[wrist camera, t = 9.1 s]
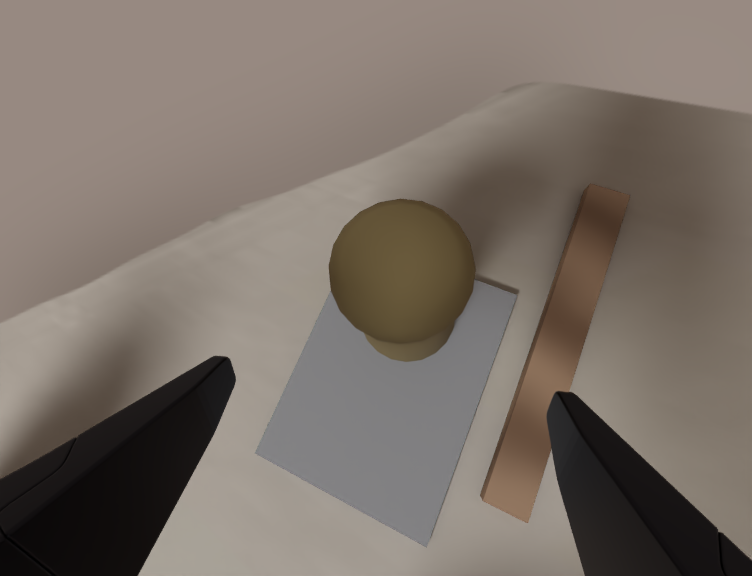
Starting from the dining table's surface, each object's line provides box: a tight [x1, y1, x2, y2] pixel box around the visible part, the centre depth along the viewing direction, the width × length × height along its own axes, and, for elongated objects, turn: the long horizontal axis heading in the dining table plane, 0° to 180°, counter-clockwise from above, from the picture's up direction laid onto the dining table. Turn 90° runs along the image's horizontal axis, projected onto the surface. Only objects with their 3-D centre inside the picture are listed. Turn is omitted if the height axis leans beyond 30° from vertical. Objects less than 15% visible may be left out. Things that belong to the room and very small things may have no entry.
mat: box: [255, 279, 517, 547], centre depth 21 cm, size 15×11×1 cm
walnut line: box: [480, 184, 630, 523], centre depth 20 cm, size 20×2×1 cm, turn 156°
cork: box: [329, 199, 476, 362], centre depth 16 cm, size 6×6×11 cm
